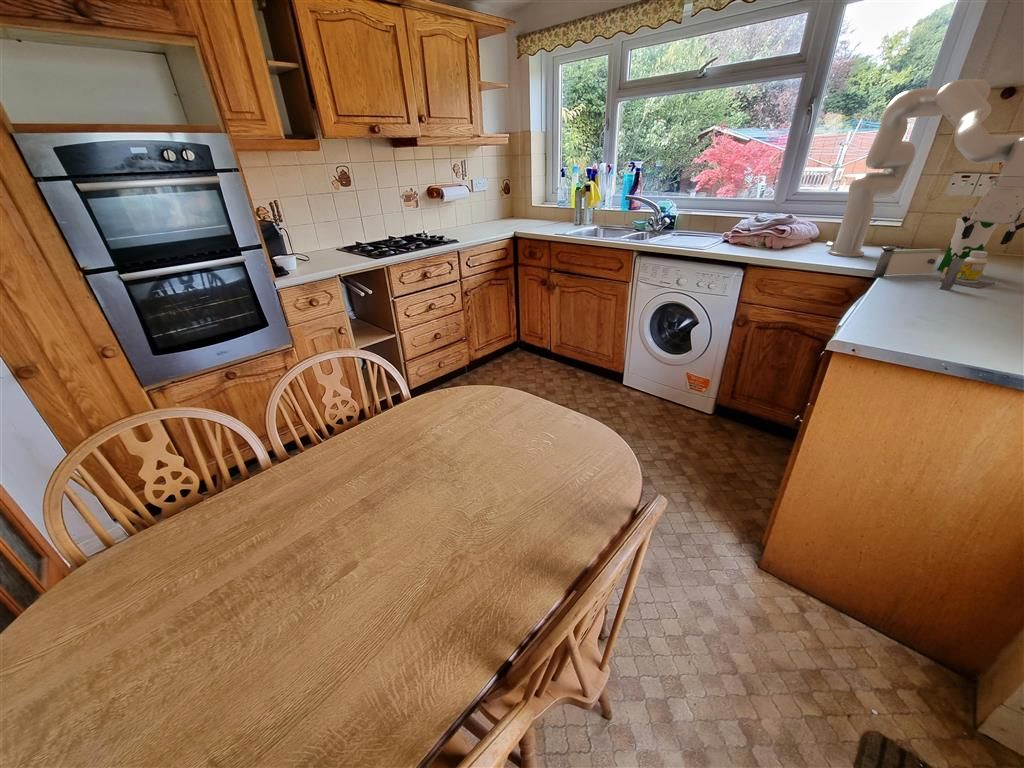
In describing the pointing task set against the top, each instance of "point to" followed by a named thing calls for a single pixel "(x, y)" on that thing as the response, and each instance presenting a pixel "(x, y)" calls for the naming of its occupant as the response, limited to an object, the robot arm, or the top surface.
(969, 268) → the supplement bottle
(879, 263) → the hinge post
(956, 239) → the milk carton
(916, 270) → the gate
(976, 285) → the mat
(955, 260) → the post
